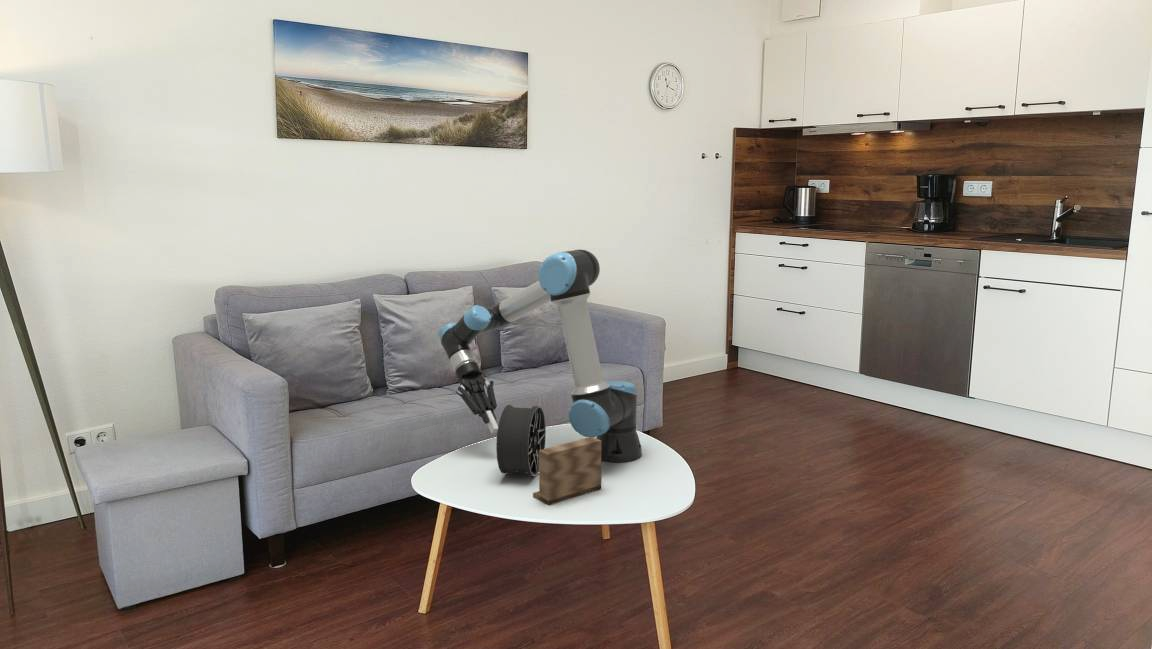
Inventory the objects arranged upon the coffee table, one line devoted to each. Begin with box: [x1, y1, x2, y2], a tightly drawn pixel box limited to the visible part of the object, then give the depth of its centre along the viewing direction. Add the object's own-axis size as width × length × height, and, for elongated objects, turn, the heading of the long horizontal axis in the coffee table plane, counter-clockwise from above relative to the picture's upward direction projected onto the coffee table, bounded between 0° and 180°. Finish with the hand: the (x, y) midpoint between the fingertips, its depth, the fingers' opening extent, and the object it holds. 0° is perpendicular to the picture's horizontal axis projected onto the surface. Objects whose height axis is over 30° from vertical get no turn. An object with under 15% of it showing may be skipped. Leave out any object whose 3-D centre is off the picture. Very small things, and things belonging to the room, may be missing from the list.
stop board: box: [532, 437, 602, 506], centre depth 222 cm, size 18×7×14 cm, turn 128°
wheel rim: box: [495, 404, 547, 477], centre depth 237 cm, size 20×9×20 cm, turn 168°
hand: (495, 430), depth 248 cm, fingers closed
